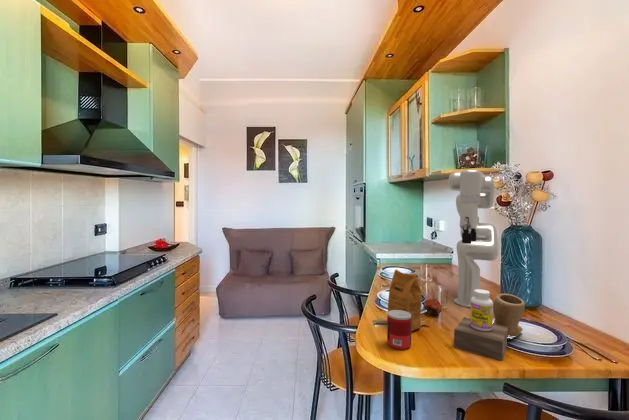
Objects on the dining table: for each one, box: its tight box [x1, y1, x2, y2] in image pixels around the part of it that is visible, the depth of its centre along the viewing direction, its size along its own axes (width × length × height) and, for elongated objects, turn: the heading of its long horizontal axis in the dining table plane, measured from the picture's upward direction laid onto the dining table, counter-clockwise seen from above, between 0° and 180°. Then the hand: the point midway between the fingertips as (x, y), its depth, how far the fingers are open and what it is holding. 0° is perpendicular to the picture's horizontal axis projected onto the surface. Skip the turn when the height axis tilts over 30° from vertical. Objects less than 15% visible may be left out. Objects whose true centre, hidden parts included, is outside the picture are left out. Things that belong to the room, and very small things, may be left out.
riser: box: [453, 316, 508, 361], centre depth 101 cm, size 14×14×6 cm
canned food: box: [386, 310, 412, 351], centre depth 101 cm, size 8×8×11 cm
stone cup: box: [493, 293, 526, 337], centre depth 110 cm, size 15×12×15 cm
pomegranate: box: [423, 298, 443, 317], centre depth 129 cm, size 7×7×10 cm
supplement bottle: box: [469, 288, 494, 331], centre depth 101 cm, size 7×7×13 cm
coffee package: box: [387, 269, 422, 332], centre depth 116 cm, size 10×12×22 cm
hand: (469, 242), depth 120 cm, fingers open, 9 cm apart
